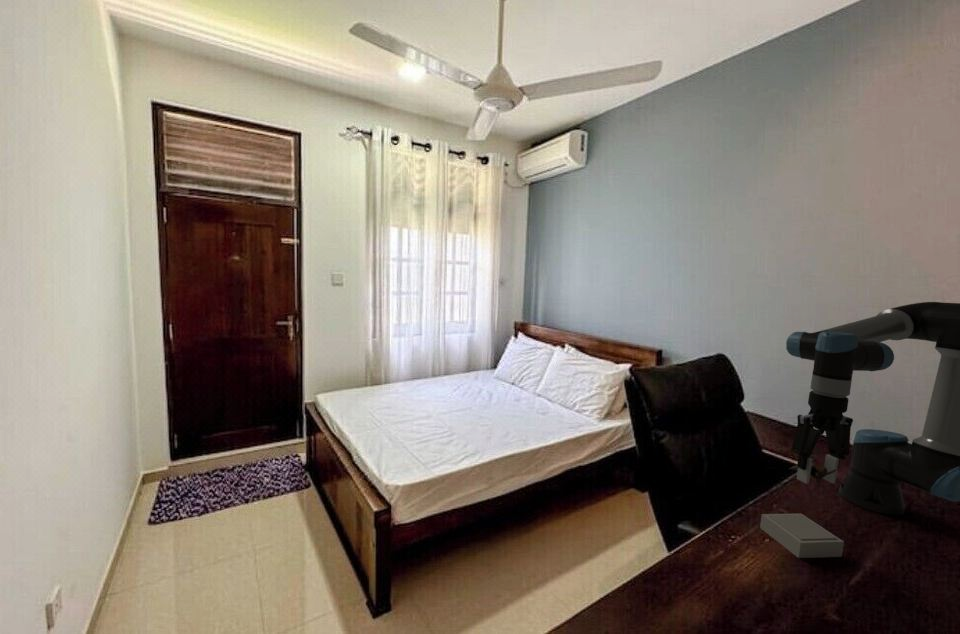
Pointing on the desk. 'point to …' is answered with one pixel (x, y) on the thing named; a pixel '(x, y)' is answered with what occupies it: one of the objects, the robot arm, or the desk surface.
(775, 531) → the tray
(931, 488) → the robot arm
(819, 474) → the eagle figurine
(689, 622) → the desk surface
